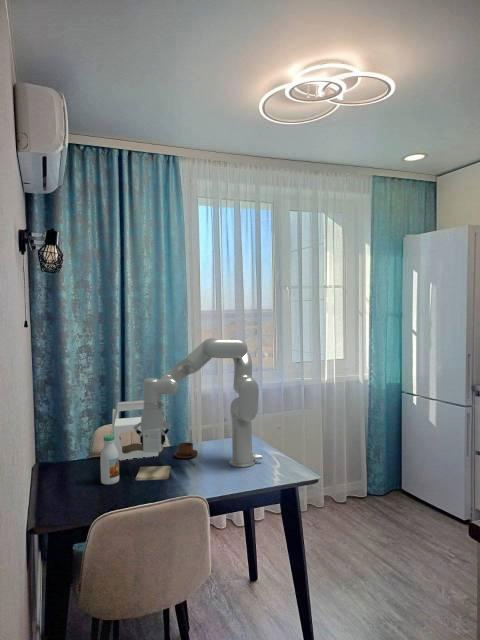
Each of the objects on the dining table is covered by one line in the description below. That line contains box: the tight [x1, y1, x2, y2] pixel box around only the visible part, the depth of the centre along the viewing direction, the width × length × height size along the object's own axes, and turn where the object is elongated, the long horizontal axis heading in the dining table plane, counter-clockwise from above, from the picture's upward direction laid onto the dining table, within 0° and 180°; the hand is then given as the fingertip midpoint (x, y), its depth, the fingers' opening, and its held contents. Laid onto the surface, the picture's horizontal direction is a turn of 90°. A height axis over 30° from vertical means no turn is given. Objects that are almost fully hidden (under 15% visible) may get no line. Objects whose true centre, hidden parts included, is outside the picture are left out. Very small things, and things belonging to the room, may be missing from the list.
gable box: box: [111, 399, 159, 461], centre depth 239 cm, size 22×13×28 cm, turn 108°
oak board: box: [135, 465, 172, 481], centre depth 210 cm, size 14×14×1 cm
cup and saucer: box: [173, 441, 198, 459], centre depth 235 cm, size 12×12×6 cm
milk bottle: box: [99, 434, 120, 485], centre depth 202 cm, size 8×8×20 cm
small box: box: [143, 429, 164, 453], centre depth 210 cm, size 8×6×10 cm
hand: (152, 443), depth 210 cm, fingers closed on small box, 8 cm apart
